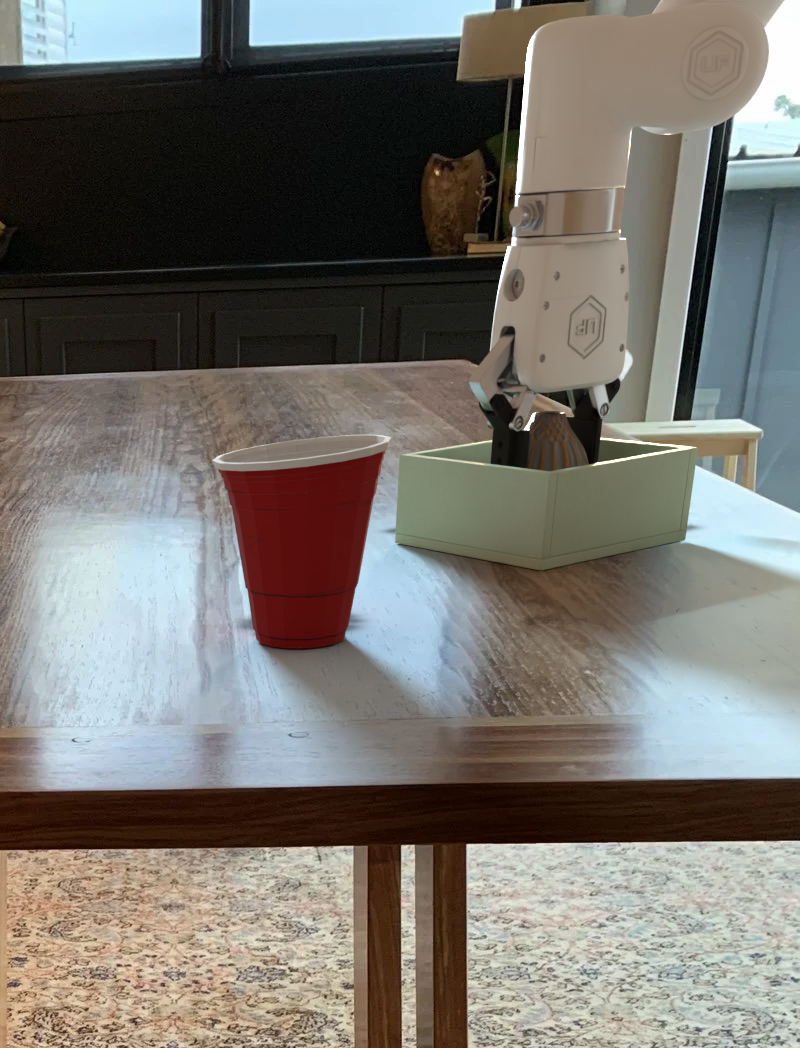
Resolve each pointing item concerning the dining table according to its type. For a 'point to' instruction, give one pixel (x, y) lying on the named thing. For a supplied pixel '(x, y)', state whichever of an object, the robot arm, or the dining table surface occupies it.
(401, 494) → the tub
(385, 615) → the dining table surface
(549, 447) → the vase
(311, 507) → the plastic cup
